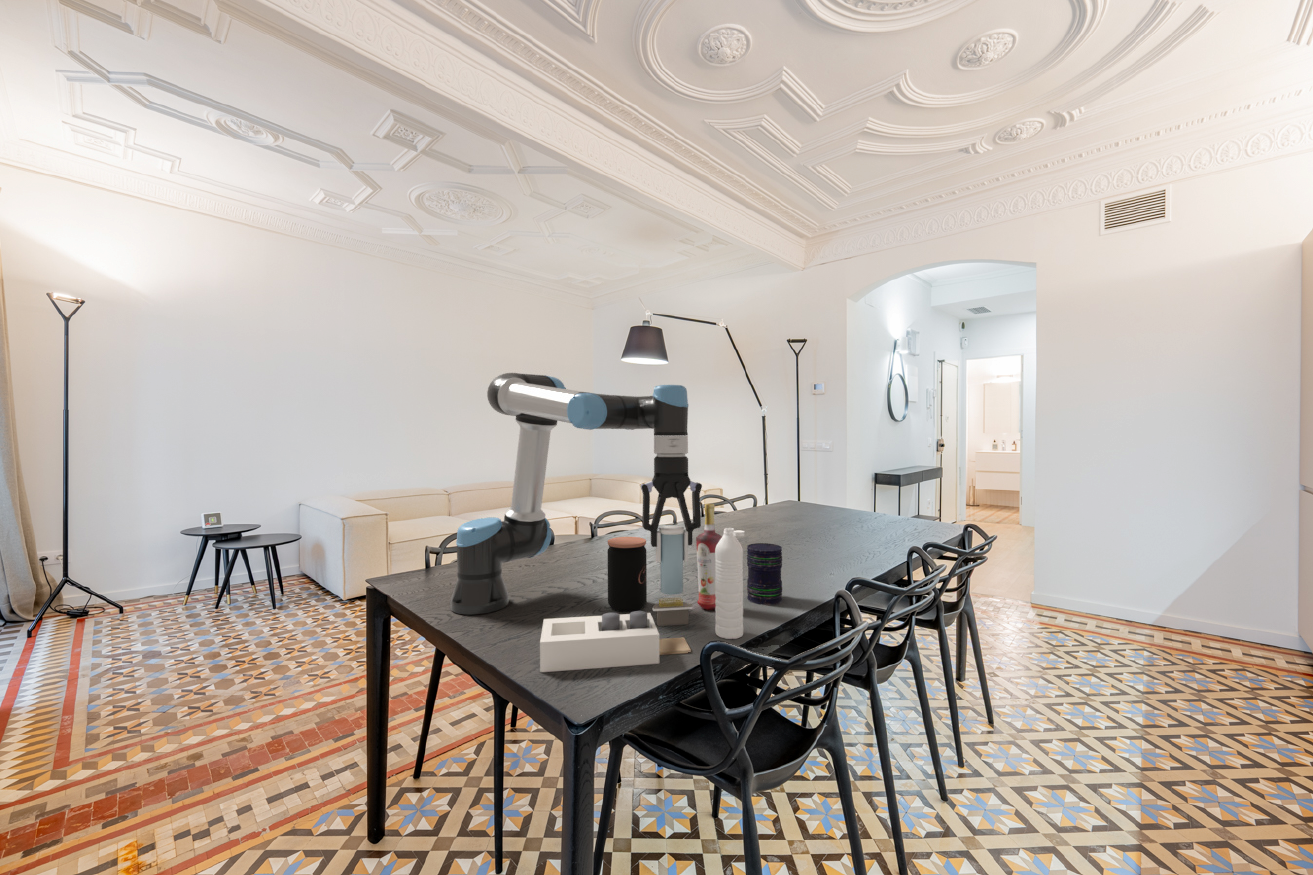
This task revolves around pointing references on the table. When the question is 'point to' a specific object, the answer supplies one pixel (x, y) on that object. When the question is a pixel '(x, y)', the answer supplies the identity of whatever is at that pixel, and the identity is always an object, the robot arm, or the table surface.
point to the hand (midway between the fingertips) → (671, 560)
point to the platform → (672, 612)
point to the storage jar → (764, 573)
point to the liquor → (707, 560)
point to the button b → (638, 620)
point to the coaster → (673, 646)
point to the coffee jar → (627, 573)
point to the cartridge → (671, 559)
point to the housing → (596, 644)
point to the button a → (610, 621)
